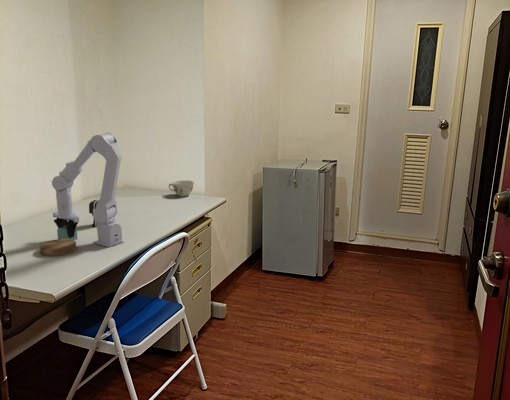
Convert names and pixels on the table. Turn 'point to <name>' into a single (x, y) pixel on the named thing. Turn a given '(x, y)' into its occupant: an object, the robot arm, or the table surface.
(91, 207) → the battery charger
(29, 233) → the table surface
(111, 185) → the robot arm
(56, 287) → the table surface
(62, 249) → the stand
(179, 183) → the teacup
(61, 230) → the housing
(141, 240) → the table surface
